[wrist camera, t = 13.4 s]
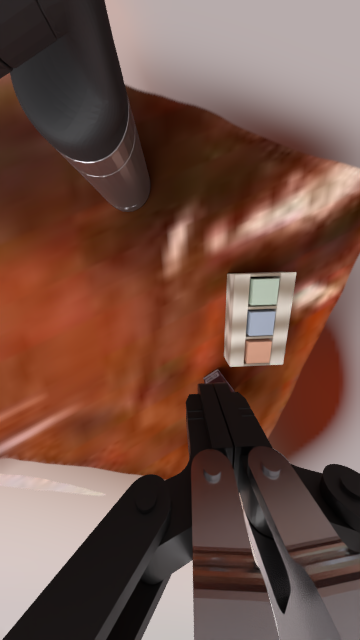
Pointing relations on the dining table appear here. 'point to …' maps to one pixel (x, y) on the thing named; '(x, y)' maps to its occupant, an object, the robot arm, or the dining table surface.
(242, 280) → the tile board
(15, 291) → the dining table surface
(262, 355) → the tile terracotta
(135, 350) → the dining table surface
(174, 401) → the dining table surface
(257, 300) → the tile sage
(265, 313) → the pale blue cube
